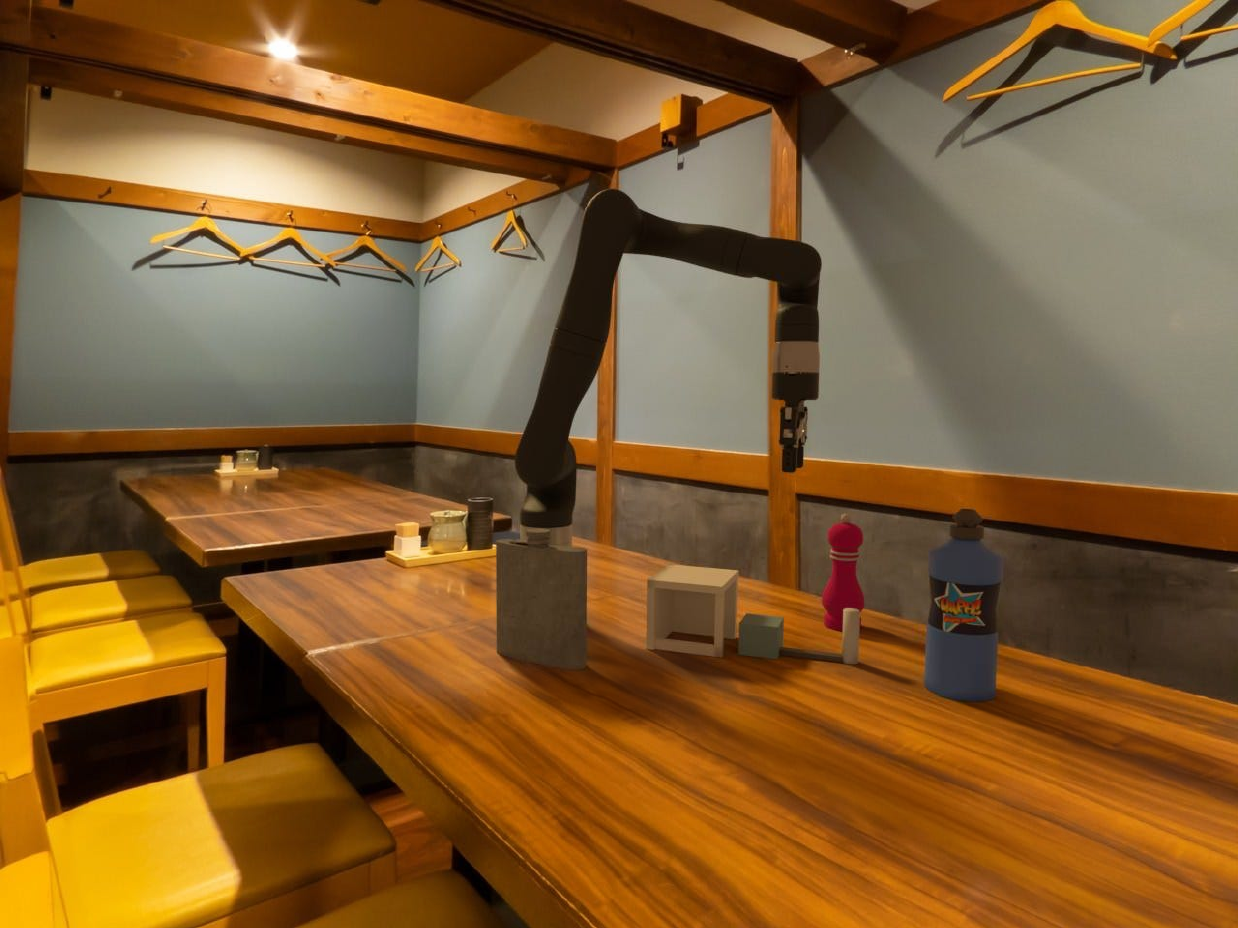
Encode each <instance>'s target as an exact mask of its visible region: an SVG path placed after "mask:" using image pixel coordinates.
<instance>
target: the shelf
mask: <svg viewBox="0 0 1238 928" xmlns="http://www.w3.org/2000/svg"><path fill="white" fill-rule="evenodd" d="M646 581H647V583H646V584H647V585H646V591H647V592H646V593H647V594H646V643H645V644H646V650H651V651H652V650H653V651H654V650H658V651H659V650H660V651H661V650H662V651H668V652H675V653H676V652H677V653H684V654H691V655H698V656H706V657H707V656H708V657H714V658H723V656H724V643H725V641H724V639H731V640H736V638H737V630H738V629H737V626H738V625H737V624H738V623H737V622H738V621H737V620H738V591H739V590H738V589H739V588H738V585H739V583H738V581H739V570H735V569H726V568H725V569H724V568H723V569H722V568H715V567H705V566H704V567H703V566H690V565H679V564H678V565H677V564H668V565H666V566H665V567H663V568H662V569H660V570H659V571H658V572H656V573H655V574H653V575H652V576H651V577H649V578H647V580H646ZM672 633H681V634H688V635H689V634H690V635H697V636H705V637H713V643H714V644H712V643H704V642H703V643H702V642H698V641H697V642H695V641H688V640H680V639H671V638H668V637H669V635H671V634H672Z"/></svg>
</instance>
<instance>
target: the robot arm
mask: <svg viewBox="0 0 1238 928" xmlns="http://www.w3.org/2000/svg"><path fill="white" fill-rule="evenodd" d="M624 254H629V255H640V256H641V255H643V256H652V257H658V258H659V257H660V258H664V259H670V260H675V261H679V262H683V263H687V264H690V265H694V266H697V267H701V268H705V269H709V270H711V271H715V272H719V273H723V274H728V275H730V276H735V277H739V278H747V279H753V278H758V279H763V280H767V281H770V282H774V283H776V301H777V303H776V304H777V308H776V309H777V311H776V313H775V320H774V321H775V322H774V345H773V352H772V360H771V361H772V362H771V364H772V365H771V366H772V367H771V399H772V400H774V401H784V406H781V407H780V409H779V412H780V415H779V418H780V419H779V423H780V424H779V439H778V443H779V445H780V449H782V451H781V452H782V453H781V455H782V456H781V471H782V472H783V473H788V474H789V473H790V474H792V473H795V472H796V471H797V469H801V468H803V466H804V449H805V445H806V443H807V440H808V435H807V434H808V421H809V420H808V419H809V412H808V410H809V409H808V406H805V401H817V400H818V399H819V395H820V394H819V393H820V368H821V367H820V363H821V362H820V359H821V357H820V356H821V355H820V346H819V345H820V343H819V342H820V341H819V340H820V315H819V310H818V309H819V308H818V304H819V294H820V293H819V292H820V281H821V280H820V279H821V270H822V265H823V263H822V258H821V255H820V253H819V251H818V250H817V249H816V248H815V247H814V246H812V245H811V244H809V243H806V242H802V241H801V240H794V239H790V238H789V239H787V238H780V237H769V236H760V235H757V234H755V233H751V232H747V231H743V230H738V229H734V228H729V227H726V226H721V225H720V226H719V225H713V224H699V223H687V222H681V221H675V220H671V219H667V218H664V217H661V216H657V215H655V214H653V213H650V212H648V211H646V210H643V209H642V208H639V206H638V205H637V204H636V202H635V201H634V200H633V199H632V198H631V197H630V196H629V195H628V194H626V192H624V191H622V190H621V189H617V188H606V189H603V190H601V191H599V192H598V193H596V194H595V195H594V196H593V197H592V198H590V200H589V201H588V203H587V206H586V207H585V209H584V213H583V217H582V222H581V227H580V233H579V240H578V244H577V249H576V256H575V260H574V264H573V269H572V273H571V275H570V278H569V281H568V285H567V287H566V290H565V293H564V296H563V301H562V303H561V307H560V310H559V314H558V317H557V320H556V322H555V325H554V329H553V333H552V336H551V339H550V343H549V345H548V351H547V355H546V359H545V362H544V366H543V370H542V374H541V377H540V381H539V384H538V389H537V394H536V398H535V402H534V405H533V408H532V410H531V413H530V416H529V418H528V421H527V423H526V426H525V428H524V431H523V433H522V436H521V437H520V440H519V443H518V445H517V449H516V451H515V456H514V466H515V472H516V474H517V476H518V477H519V479H520V480H521V481H522V482H523V483H524V485H526V495H525V500H524V503H523V504H522V506H521V509H520V512H519V513H520V514H519V515H520V516H519V517H520V518H519V519H520V525H519V527H520V528H519V530H520V531H519V532H520V533H519V535H520V537H519V538H520V540H527V539H529V537H528V536H526V530H528V529H536V528H541V529H549V530H550V536H548V537H547V538H549V539H548V540H549V543H548V545H555V546H565V547H573V514H574V511H575V510H574V509H575V506H576V500H577V499H576V498H577V474H578V473H577V471H578V470H577V469H578V468H577V467H578V466H577V463H578V462H577V455H576V451H575V448H574V446H573V444H572V443H571V441H570V440H569V438H570V433H571V429H572V425H573V422H574V418H575V416H576V413H577V411H578V409H579V407H580V405H581V403H582V401H583V399H584V398H585V396H586V394H587V392H588V391H589V389H590V388H591V385H593V384H592V383H593V382H594V380H595V377H596V375H597V373H598V371H599V368H600V366H601V363H602V359H603V356H604V354H605V353H604V352H605V350H606V346H607V343H608V338H609V334H610V330H611V329H610V328H611V323H612V313H613V312H612V311H613V310H612V308H613V295H614V294H613V293H614V287H615V286H614V285H615V280H616V278H617V277H616V276H617V273H618V269H619V267H620V263H621V260H622V258H623V255H624Z"/></svg>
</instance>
